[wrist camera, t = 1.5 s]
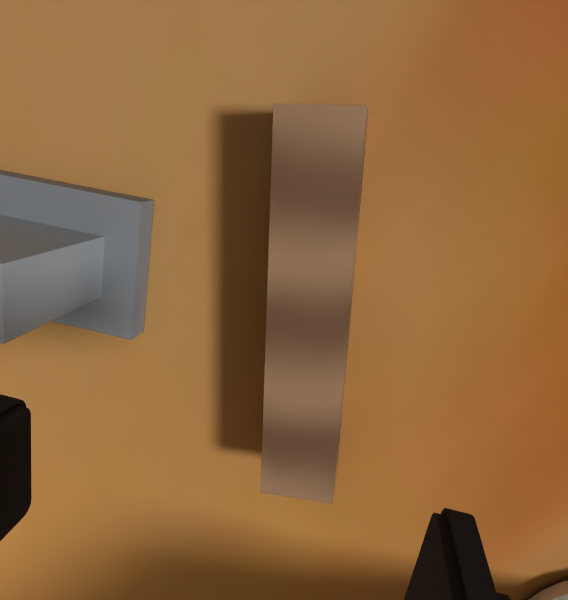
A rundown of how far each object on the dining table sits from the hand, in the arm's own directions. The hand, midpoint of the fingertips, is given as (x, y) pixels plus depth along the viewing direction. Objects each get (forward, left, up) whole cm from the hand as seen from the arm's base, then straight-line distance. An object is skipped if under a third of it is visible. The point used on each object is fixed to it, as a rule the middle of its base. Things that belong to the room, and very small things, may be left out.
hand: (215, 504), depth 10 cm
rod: (0, 0, -17) cm, 17 cm away
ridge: (0, +17, -17) cm, 24 cm away
